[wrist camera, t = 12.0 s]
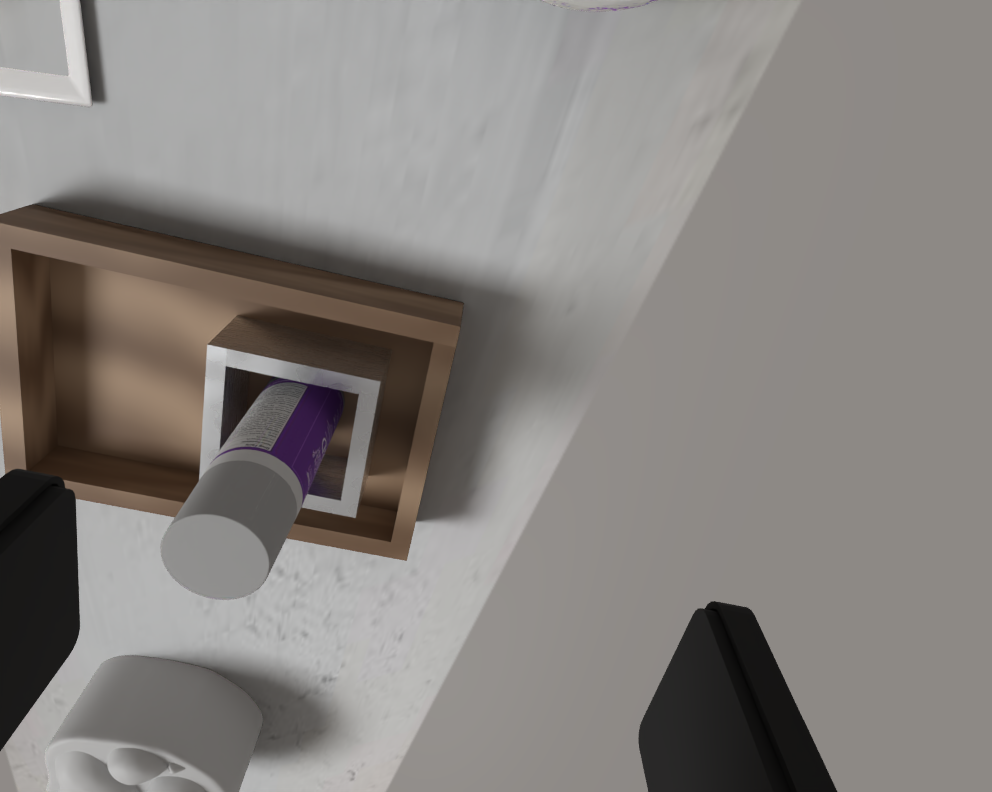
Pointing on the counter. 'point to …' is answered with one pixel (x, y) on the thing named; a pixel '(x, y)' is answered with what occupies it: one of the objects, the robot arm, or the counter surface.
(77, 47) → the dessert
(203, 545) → the container
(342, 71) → the counter surface
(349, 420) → the walled tray
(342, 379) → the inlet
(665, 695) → the robot arm
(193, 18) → the counter surface
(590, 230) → the counter surface
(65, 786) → the lumpy-topped squat cylinder
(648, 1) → the paper bowls
